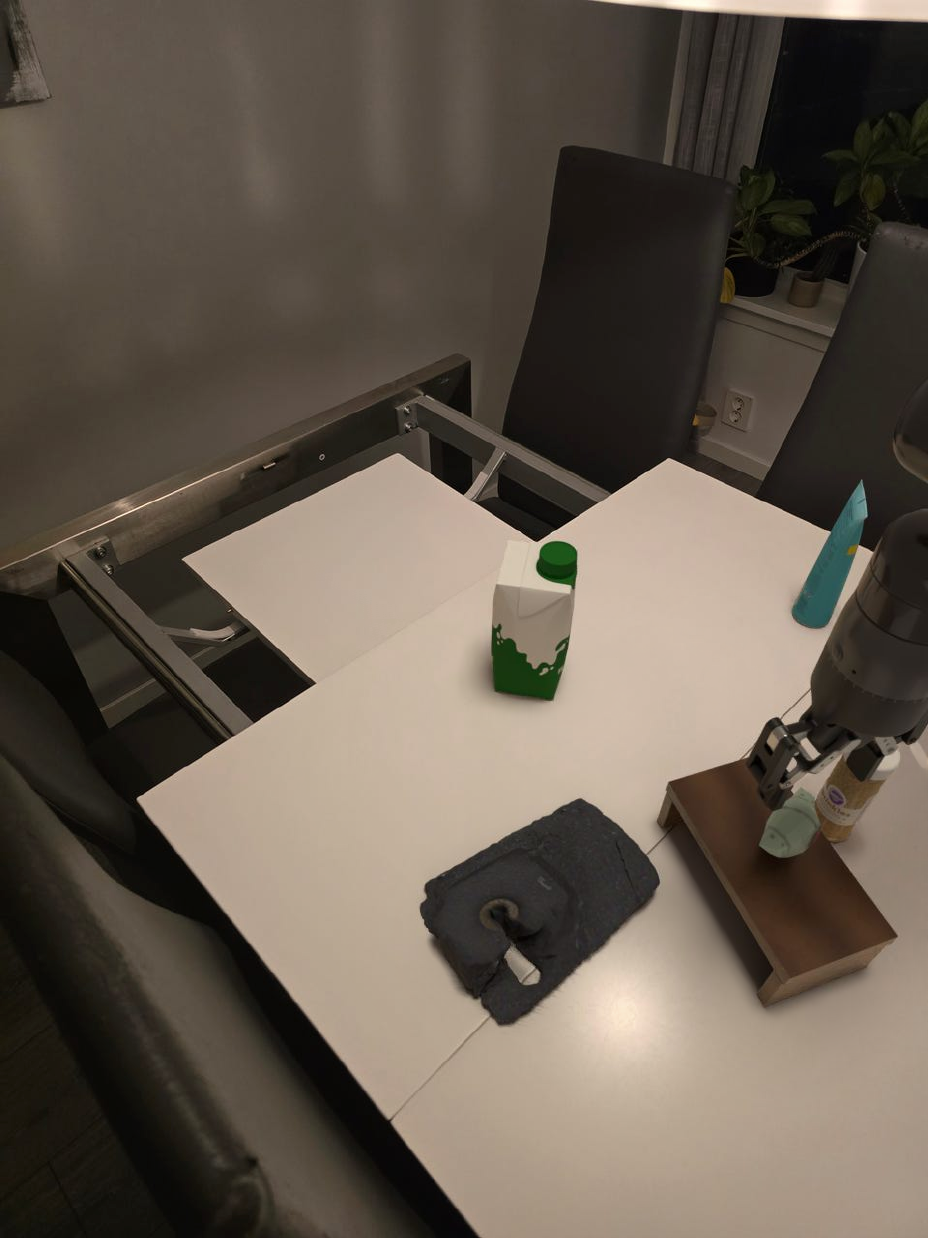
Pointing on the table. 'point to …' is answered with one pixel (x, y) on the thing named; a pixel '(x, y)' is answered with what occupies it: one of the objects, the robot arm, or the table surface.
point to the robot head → (792, 826)
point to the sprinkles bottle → (849, 796)
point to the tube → (832, 565)
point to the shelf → (778, 884)
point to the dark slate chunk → (537, 902)
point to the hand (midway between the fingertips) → (813, 786)
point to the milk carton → (533, 617)
